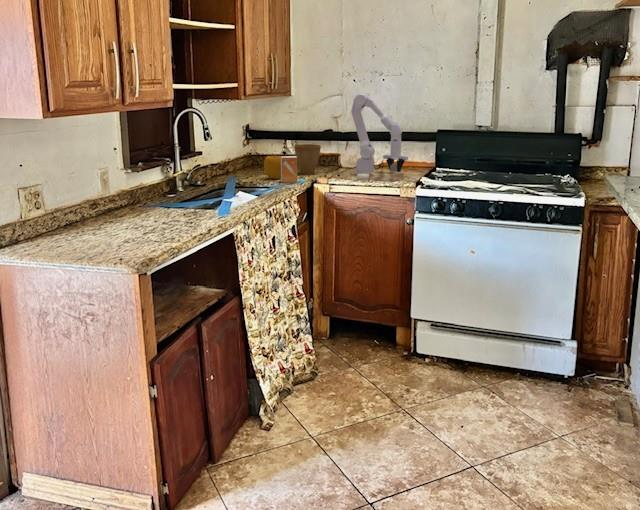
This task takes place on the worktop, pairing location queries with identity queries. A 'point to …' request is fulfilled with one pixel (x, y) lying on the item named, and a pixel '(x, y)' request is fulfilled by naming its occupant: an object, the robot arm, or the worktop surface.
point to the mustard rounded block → (273, 166)
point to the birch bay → (386, 176)
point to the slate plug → (393, 167)
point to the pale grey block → (362, 176)
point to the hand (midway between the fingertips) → (395, 172)
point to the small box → (289, 169)
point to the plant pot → (307, 157)
